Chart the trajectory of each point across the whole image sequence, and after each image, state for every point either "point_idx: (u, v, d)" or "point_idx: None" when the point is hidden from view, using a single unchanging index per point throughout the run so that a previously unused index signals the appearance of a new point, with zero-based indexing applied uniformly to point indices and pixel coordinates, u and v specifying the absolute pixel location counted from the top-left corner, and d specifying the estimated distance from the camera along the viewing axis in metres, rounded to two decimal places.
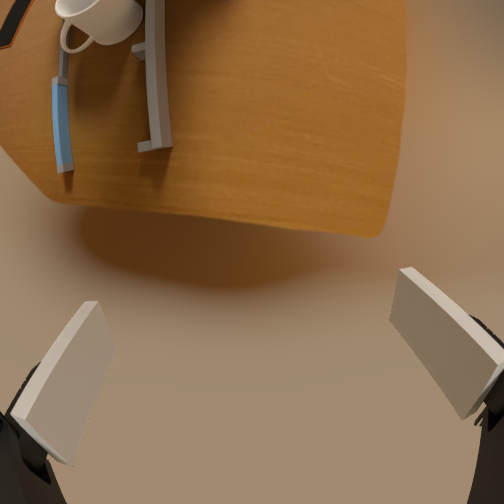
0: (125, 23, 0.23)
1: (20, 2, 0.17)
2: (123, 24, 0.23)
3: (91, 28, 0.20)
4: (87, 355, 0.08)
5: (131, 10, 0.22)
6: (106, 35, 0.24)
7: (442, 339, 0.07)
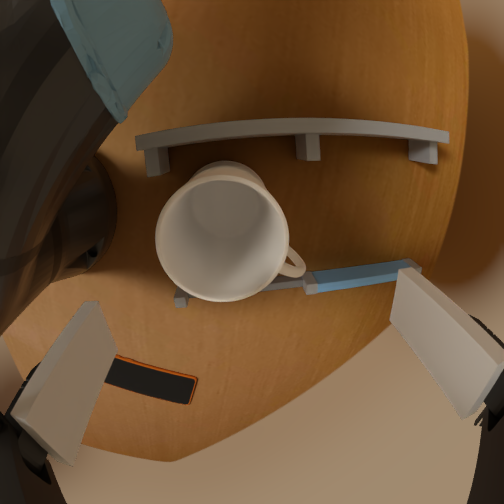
0: None
1: (124, 377, 0.35)
2: None
3: None
4: (87, 355, 0.08)
5: (235, 167, 0.22)
6: None
7: (442, 339, 0.07)
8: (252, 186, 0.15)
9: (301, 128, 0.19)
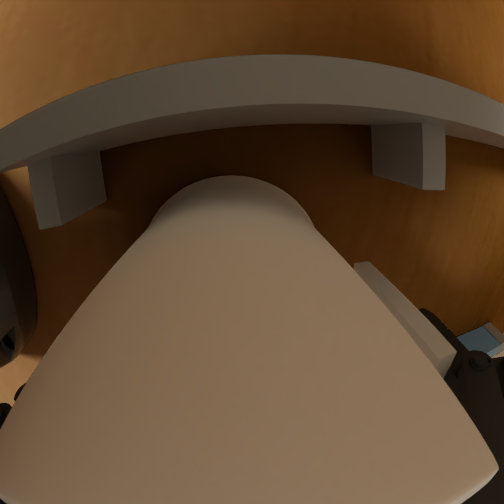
0: (313, 226, 0.09)
1: None
2: None
3: None
4: None
5: (263, 202, 0.08)
6: None
7: None
8: (465, 500, 0.01)
9: (440, 106, 0.05)
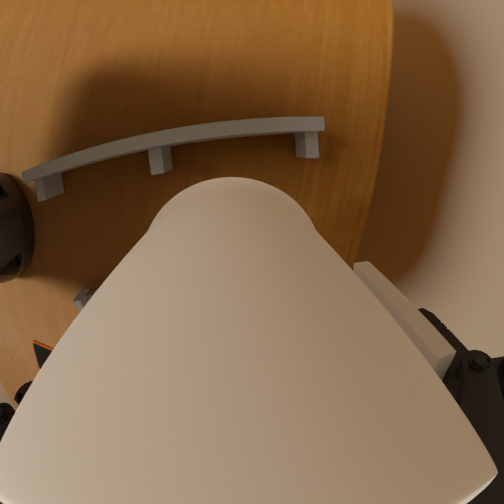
0: None
1: None
2: None
3: None
4: None
5: (263, 204, 0.08)
6: None
7: None
8: None
9: (131, 147, 0.20)
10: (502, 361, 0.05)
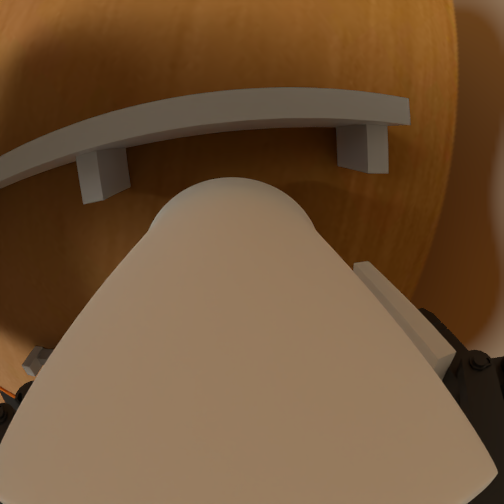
0: None
1: None
2: None
3: None
4: None
5: (263, 205, 0.08)
6: None
7: None
8: None
9: (38, 157, 0.08)
10: (502, 361, 0.05)
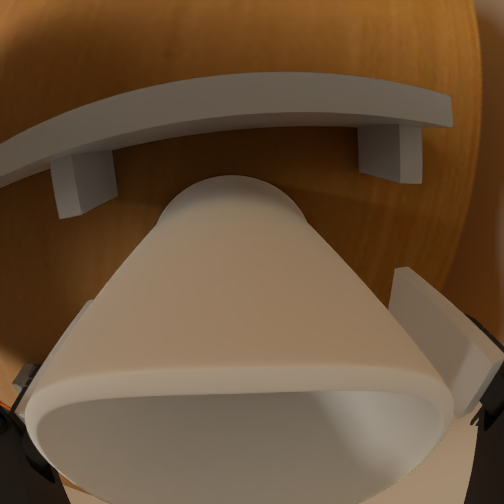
0: None
1: None
2: None
3: None
4: None
5: (262, 197, 0.09)
6: None
7: (438, 338, 0.08)
8: (412, 392, 0.02)
9: (4, 165, 0.06)
10: None
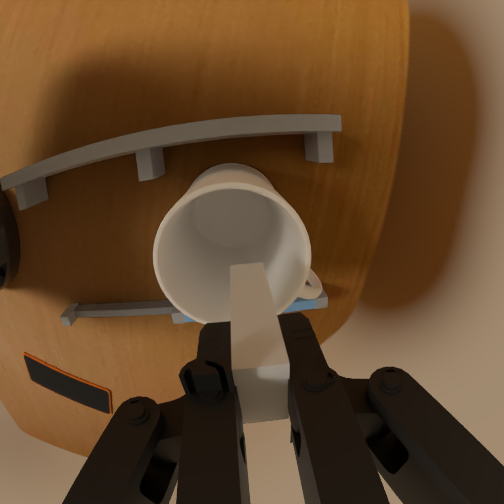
0: None
1: (53, 382, 0.32)
2: None
3: None
4: None
5: (245, 171, 0.19)
6: None
7: None
8: (271, 197, 0.13)
9: (114, 149, 0.16)
10: (366, 393, 0.06)
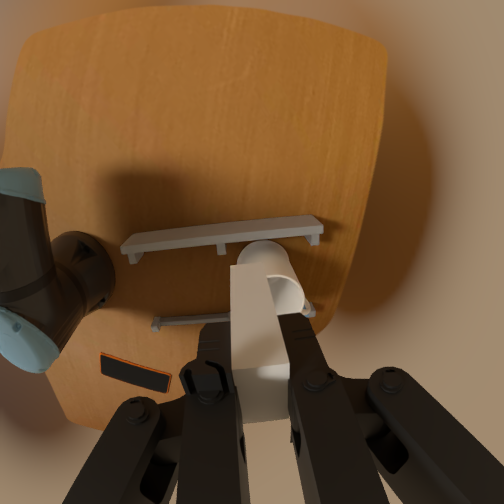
0: (284, 255, 0.41)
1: (123, 373, 0.52)
2: (286, 257, 0.41)
3: None
4: None
5: (274, 251, 0.40)
6: None
7: None
8: (290, 279, 0.33)
9: (208, 242, 0.37)
10: (365, 392, 0.06)
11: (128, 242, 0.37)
